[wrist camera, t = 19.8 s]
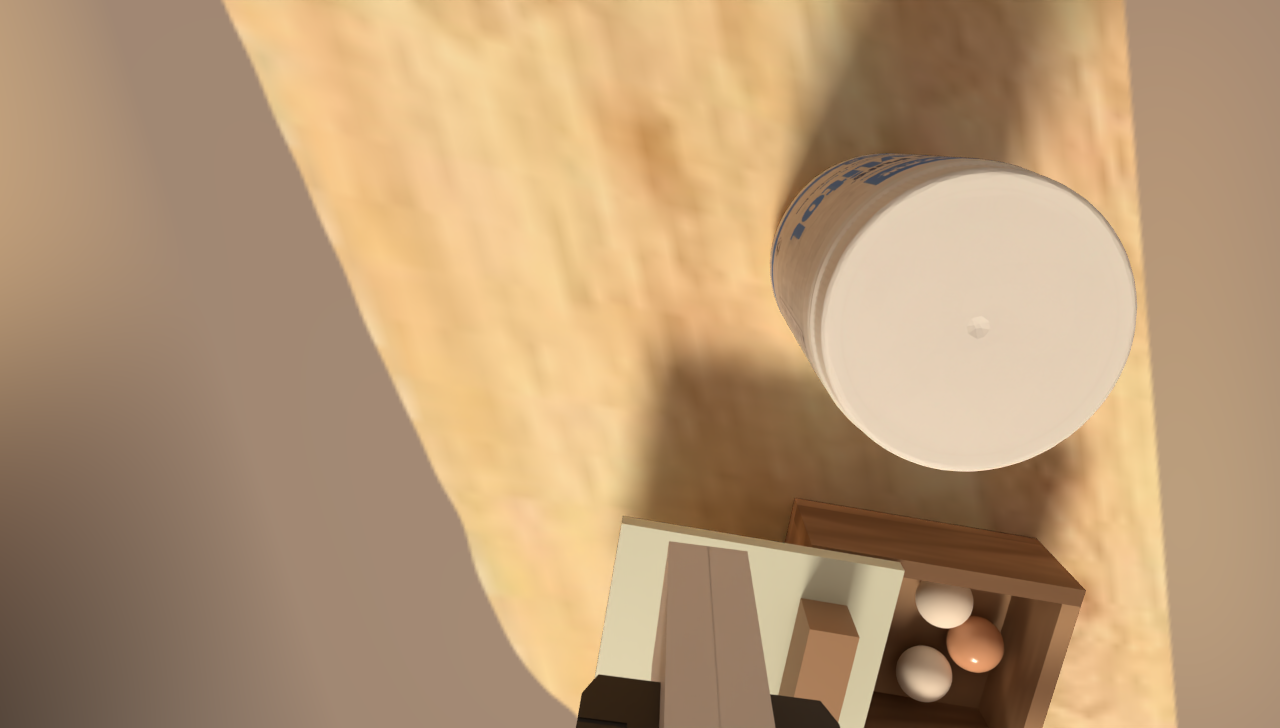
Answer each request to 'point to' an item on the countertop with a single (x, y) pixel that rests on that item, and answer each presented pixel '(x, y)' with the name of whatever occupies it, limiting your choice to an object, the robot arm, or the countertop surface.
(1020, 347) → the supplement tub
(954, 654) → the ball
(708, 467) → the countertop surface
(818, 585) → the lid
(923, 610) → the ball
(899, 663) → the ball
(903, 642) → the box
